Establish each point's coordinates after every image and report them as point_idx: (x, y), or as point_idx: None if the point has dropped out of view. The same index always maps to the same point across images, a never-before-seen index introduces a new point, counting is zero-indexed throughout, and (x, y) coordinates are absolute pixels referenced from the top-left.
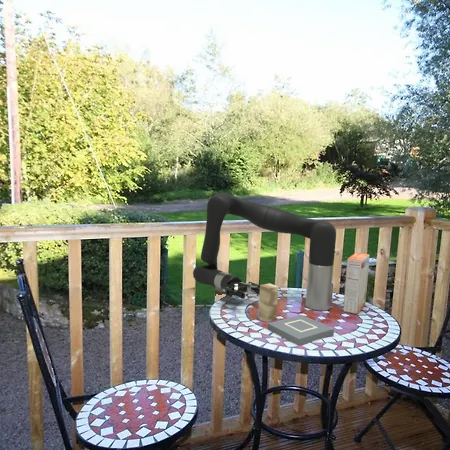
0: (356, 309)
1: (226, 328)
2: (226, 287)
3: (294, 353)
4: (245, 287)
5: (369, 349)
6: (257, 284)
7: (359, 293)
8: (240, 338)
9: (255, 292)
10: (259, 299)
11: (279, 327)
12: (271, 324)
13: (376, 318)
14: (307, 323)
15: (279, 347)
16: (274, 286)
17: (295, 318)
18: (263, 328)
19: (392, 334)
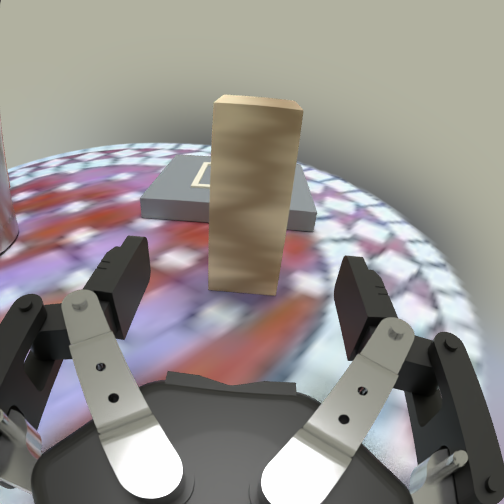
0: (7, 176)
1: (449, 288)
2: (478, 439)
3: (329, 175)
4: (189, 378)
5: (188, 145)
6: (2, 327)
7: (1, 131)
8: (420, 238)
9: (124, 331)
10: (290, 201)
11: (301, 191)
12: (310, 205)
13: (18, 173)
14: (202, 173)
15: (345, 190)
16: (239, 97)
17: (191, 195)
18: (322, 239)
19: (92, 149)
